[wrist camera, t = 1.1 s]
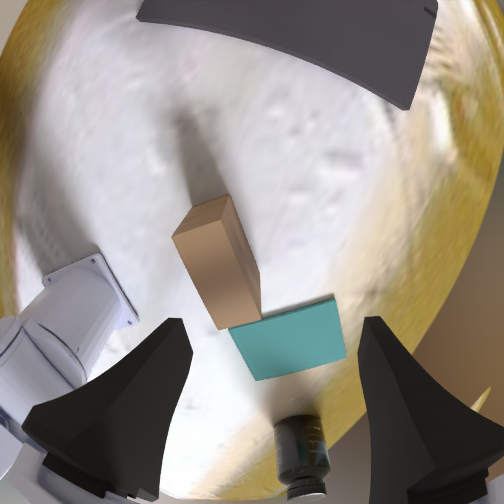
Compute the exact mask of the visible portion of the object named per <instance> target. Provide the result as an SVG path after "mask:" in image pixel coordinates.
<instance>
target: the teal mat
mask: <svg viewBox="0 0 504 504" xmlns="http://www.w3.org/2000/svg"><path fill="white" fill-rule="evenodd" d="M228 331H229V332H230V334H231V336H232V338H233V340H234V342H235V344H236V346H237V348H238V349H239V351H240V353H241V355H242V357H243V359H244V361H245V362H246V364H247V366H248V368H249V370H250V371H251V373H252V375H253V377H254V379H255V380H256V381H259V380H264V379H269V378H273V377H278V376H282V375H286V374H290V373H294V372H298V371H302V370H306V369H310V368H313V367H317V366H321V365H324V364H328V363H331V362H334V361H338V360H341V359H344V358H346V353H345V347H344V341H343V336H342V330H341V325H340V320H339V315H338V310H337V305H336V300H335V298H333V299H329V300H326V301H323V302H320V303H316V304H313V305H310V306H306V307H303V308H300V309H296V310H293V311H289V312H286V313H282V314H278V315H275V316H271V317H267V318H264V319H262V320H258V321H254V322H250V323H246V324H242V325H238V326H234V327H230V328H228Z"/></svg>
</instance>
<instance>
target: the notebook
mask: <svg viewBox="0 0 504 504" xmlns="http://www.w3.org/2000/svg"><path fill="white" fill-rule="evenodd" d="M437 10H438V2H437V0H144V2H143V4H142V6H141V8H140V10H139V12H138V14H137V16H136V18H137V19H138V20H139V21H140V22H150V23H159V24H168V25H175V26H182V27H188V28H194V29H200V30H205V31H210V32H214V33H219V34H223V35H227V36H231V37H235V38H239V39H243V40H246V41H250V42H253V43H257V44H260V45H263V46H266V47H269V48H272V49H275V50H278V51H281V52H284V53H287V54H290V55H292V56H295V57H298V58H300V59H303V60H305V61H308V62H310V63H313V64H315V65H317V66H320V67H322V68H324V69H326V70H329V71H331V72H333V73H335V74H337V75H339V76H342V77H344V78H346V79H348V80H350V81H352V82H354V83H356V84H358V85H359V86H361V87H363V88H365V89H367V90H369V91H371V92H372V93H374V94H376V95H378V96H379V97H381V98H383V99H385V100H386V101H388V102H390V103H391V104H393V105H395V106H396V107H398V108H399V109H401V110H410V107H411V104H412V101H413V98H414V95H415V92H416V89H417V86H418V83H419V79H420V76H421V73H422V70H423V66H424V63H425V59H426V56H427V52H428V48H429V44H430V41H431V37H432V33H433V28H434V24H435V20H436V16H437Z"/></svg>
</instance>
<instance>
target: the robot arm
mask: <svg viewBox="0 0 504 504" xmlns="http://www.w3.org/2000/svg"><path fill="white" fill-rule="evenodd" d="M93 259H94V260H95V262H94V261H93ZM42 283H43V285H44V287H45V288H44V289H43V290H42V291H41V292H40V293H39V294H38V296H37V297H36V298H35V299H34V300H33V301H32V302H31V303H30V304H29V305H28V306H27V307H26V308H25V309H24V310H23V311H22V313H21V314H20V315H19V316H18V317H17V316H9V315H7V316H4V317H3V318H1V319H0V480H1V478H2V477H3V476H4V475H5V474H6V472H7V471H8V470H9V469H10V468H11V467H12V468H11V470H10V472H9V474H8V476H7V479H6V480H7V482H8V483H10V484H11V485H12V486H13V487H14V488H15V489H16V490H17V491H18V492H19V493H21V494H22V495H23V496H24V497H25V498H26V499H27V500H28V501H29V502H30V503H31V504H139V503H136V502H134V501H131V500H128V499H127V496H129V497H131V498H134V499H136V497H138V498H141V499H144V500H147V501H150V502H153V501H156V500H157V499H158V498H159V485H160V475H161V467H162V460H163V455H164V449H165V444H166V439H167V435H168V431H169V427H170V423H171V420H172V416H173V414H174V411H175V408H176V406H177V403H178V400H179V398H180V395H181V393H182V390H183V387H184V385H185V382H186V379H187V376H188V374H189V370H190V365H191V361H192V356H193V350H192V347H191V344H190V341H189V339H188V336H187V333H186V330H185V327H184V324H183V320H182V318H168V319H166V320H165V321H164V322H163V323H162V324H161V325H160V326H159V327H157V328H156V329H155V330H154V331H153V332H152V333H151V334H150V335H149V336H148V337H147V338H146V339H144V340H143V341H142V342H141V343H140V344H139V345H138V346H137V347H136V348H134V349H133V350H132V351H131V352H130V353H129V354H127V355H126V356H125V357H124V358H122V359H121V360H120V361H119V362H118V363H116V364H115V365H114V366H112V367H111V368H110V369H108V370H107V371H105V372H104V373H103V374H101V375H100V376H98V377H97V378H95V379H93V380H92V381H90V382H87V379H88V377H89V375H90V373H91V372H92V370H93V368H94V366H95V364H96V362H97V360H98V358H99V356H100V355H101V353H102V351H103V349H104V347H105V345H106V344H107V342H108V340H109V338H110V336H111V335H112V333H113V331H114V330H118V329H123V328H127V327H132V326H136V325H138V324H139V318H138V317H137V315H136V314H135V312H134V311H133V309H132V307H131V306H130V304H129V302H128V301H127V299H126V298H125V296H124V294H123V293H122V291H121V289H120V288H119V286H118V284H117V282H116V281H115V279H114V277H113V275H112V274H111V272H110V270H109V268H108V266H107V265H106V263H105V261H104V259H103V257H102V256H101V254H99V253H95V254H93V255H91V256H88V257H86V258H84V259H81V260H79V261H77V262H75V263H72V264H70V265H68V266H66V267H64V268H61V269H59V270H57V271H55V272H53V273H51V274H49V275H46V276H44V277H43V278H42ZM130 321H131V322H130ZM357 354H358V364H359V373H360V379H361V384H362V389H363V394H364V398H365V403H366V408H367V413H368V418H369V425H370V436H371V487H370V498H369V504H504V474H503V475H501V476H499V477H497V478H495V479H493V480H492V481H490V482H488V483H486V482H485V478H486V477H488V475H489V473H488V467H489V466H491V465H492V464H494V463H495V462H497V461H498V460H499V459H500V458H502V457H503V456H504V427H503V426H501V425H499V424H497V423H495V422H492V421H491V420H489V419H487V418H485V417H483V416H482V415H480V414H478V413H477V412H475V411H474V410H472V409H470V408H469V407H467V406H466V405H465V404H463V403H462V402H461V401H459V400H458V399H457V398H455V397H454V396H453V395H451V394H450V393H449V392H448V391H447V390H445V389H444V388H443V387H442V386H441V385H440V384H439V383H437V382H436V381H435V380H434V379H433V378H432V377H431V376H430V375H429V374H428V373H427V372H426V371H425V370H424V369H423V368H422V366H421V365H420V364H419V363H418V362H417V361H416V360H415V359H414V358H413V357H412V355H411V354H410V353H409V352H408V351H407V349H406V348H405V347H404V346H403V345H402V343H401V342H400V341H399V340H398V338H397V337H396V336H395V335H394V333H393V332H392V331H391V330H390V328H389V327H388V326H387V324H386V323H385V322H384V321H383V319H382V318H381V317H380V316H373V317H365V319H364V324H363V329H362V334H361V339H360V344H359V348H358V353H357Z"/></svg>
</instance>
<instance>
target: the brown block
mask: <svg viewBox="0 0 504 504" xmlns="http://www.w3.org/2000/svg"><path fill="white" fill-rule="evenodd" d="M171 238H172V240H173V242H174V244H175V246H176V248H177V250H178V253H179V255H180V257H181V259H182V261H183V263H184V265H185V267H186V269H187V271H188V273H189V275H190V277H191V279H192V281H193V283H194V285H195V287H196V289H197V291H198V293H199V295H200V297H201V299H202V301H203V303H204V305H205V307H206V308H207V310H208V312H209V314H210V316H211V318H212V320H213V322H214V323H215V325H216V327H217V329H218V330H222V329H226V328H230V327H234V326H238V325H242V324H246V323H250V322H254V321H258V320H262V317H261V290H260V273H259V270H258V268H257V265H256V262H255V260H254V257H253V254H252V252H251V249H250V246H249V244H248V241H247V238H246V236H245V233H244V230H243V228H242V225H241V223H240V220H239V217H238V215H237V212H236V209H235V207H234V204H233V201H232V199H231V196H230V194H228V195H225V196H222V197H219V198H216V199H213V200H211V201H208V202H205V203H202V204H200V205H197V206H194V207H192V208H191V210H190V211H189V212H188V214H187V215H186V217H185V218H184V219H183V221H182V222H181V224H180V225H179V226H178V228H177V229H176V231H175V232H174V234H173V235H172V236H171Z"/></svg>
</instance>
